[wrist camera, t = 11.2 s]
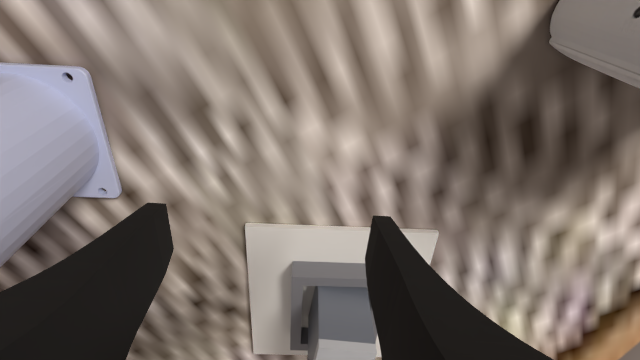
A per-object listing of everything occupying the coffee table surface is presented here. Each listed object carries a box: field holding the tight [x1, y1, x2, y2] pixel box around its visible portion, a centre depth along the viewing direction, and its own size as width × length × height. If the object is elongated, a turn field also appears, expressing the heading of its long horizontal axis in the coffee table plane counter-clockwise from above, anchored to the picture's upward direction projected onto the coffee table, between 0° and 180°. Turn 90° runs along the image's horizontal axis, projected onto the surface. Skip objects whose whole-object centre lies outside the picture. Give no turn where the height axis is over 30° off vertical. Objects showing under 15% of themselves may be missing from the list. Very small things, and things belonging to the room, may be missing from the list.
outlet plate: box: [245, 223, 439, 357], centre depth 28 cm, size 13×14×2 cm
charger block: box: [307, 286, 377, 360], centre depth 25 cm, size 4×5×6 cm
